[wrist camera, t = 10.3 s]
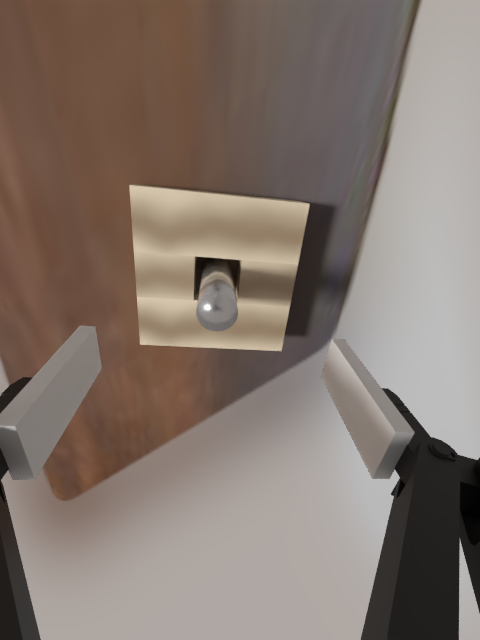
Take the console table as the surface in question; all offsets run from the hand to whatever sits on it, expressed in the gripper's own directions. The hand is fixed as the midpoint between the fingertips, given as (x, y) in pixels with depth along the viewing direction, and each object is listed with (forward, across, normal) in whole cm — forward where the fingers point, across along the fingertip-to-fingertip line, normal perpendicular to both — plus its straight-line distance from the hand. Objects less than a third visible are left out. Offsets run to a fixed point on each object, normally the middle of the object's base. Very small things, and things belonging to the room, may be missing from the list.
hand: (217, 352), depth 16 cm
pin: (+17, 0, -1) cm, 17 cm away
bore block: (+18, 0, -1) cm, 18 cm away
